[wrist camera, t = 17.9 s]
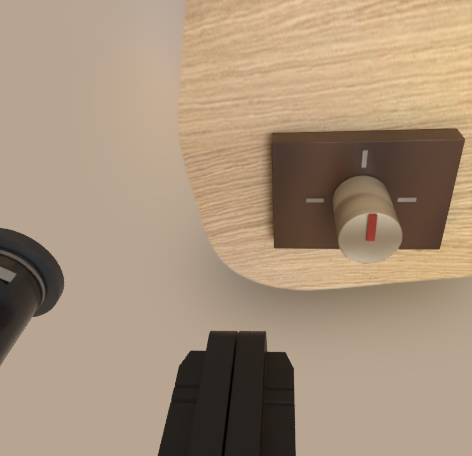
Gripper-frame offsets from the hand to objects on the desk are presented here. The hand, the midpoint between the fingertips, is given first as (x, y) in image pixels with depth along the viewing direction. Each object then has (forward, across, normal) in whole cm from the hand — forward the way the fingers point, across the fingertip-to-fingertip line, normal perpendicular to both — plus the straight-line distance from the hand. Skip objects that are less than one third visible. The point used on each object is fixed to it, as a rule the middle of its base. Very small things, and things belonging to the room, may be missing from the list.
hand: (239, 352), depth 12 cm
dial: (+24, -7, +9) cm, 26 cm away
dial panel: (+26, -7, +9) cm, 28 cm away
